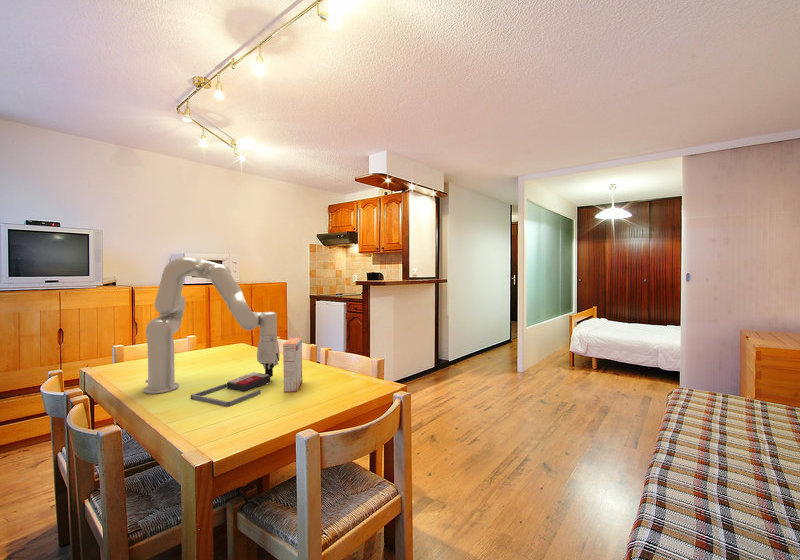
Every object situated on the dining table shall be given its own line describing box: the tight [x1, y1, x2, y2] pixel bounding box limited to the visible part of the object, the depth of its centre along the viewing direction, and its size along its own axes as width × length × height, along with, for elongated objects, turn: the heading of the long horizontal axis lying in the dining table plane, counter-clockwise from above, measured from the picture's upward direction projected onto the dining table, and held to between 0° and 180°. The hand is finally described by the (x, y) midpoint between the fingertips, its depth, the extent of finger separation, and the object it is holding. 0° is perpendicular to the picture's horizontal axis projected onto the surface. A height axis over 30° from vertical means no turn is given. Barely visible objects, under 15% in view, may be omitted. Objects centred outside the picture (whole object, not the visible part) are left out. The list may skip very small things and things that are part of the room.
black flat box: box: [226, 371, 272, 393], centre depth 156 cm, size 11×4×15 cm
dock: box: [190, 383, 262, 408], centre depth 142 cm, size 21×16×2 cm
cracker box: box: [282, 337, 303, 393], centre depth 154 cm, size 14×6×21 cm, turn 6°
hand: (269, 376), depth 163 cm, fingers closed
